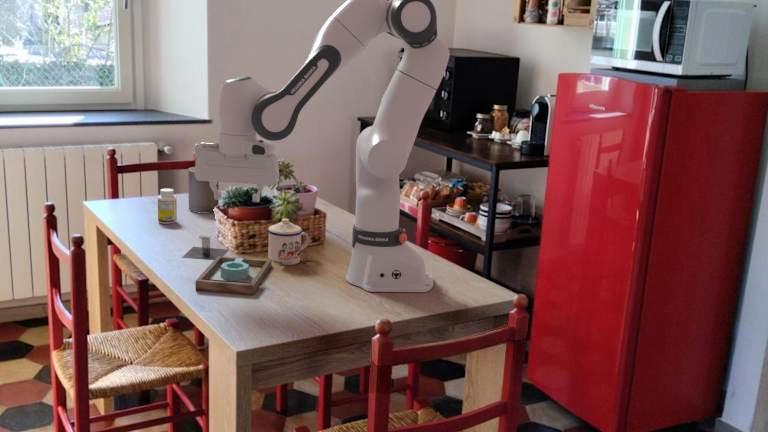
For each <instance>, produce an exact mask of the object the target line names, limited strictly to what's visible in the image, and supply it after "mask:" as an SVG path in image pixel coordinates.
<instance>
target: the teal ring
mask: <svg viewBox="0 0 768 432" xmlns="http://www.w3.org/2000/svg"><path fill="white" fill-rule="evenodd" d="M243 258H244V257H237V258H236V259H235V261H231V262H226V263H221V264H220V278H223V279H225V281H235V282H237V281H240V280H246V279H248V278H249V275H250V265H248V264H246V263H244V262H243Z"/></svg>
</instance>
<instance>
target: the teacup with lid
mask: <svg viewBox="0 0 768 432" xmlns="http://www.w3.org/2000/svg"><path fill="white" fill-rule="evenodd" d="M267 232H268V252H267V255H268V256H267V257H268V260H271V262H272V261H273V262H275V263H276V262H277V263H281V264H280V266H293V265H294V266H295V265H296V264H298V263H300V261H301V252H302V250H304V249H305V248H306V247H307V246H308V244H309V241H310V238H309V235H308V233H307V232H304V231H303V229H302V228H301V227H300V226H299V225H296V224H294V223H292V222H290V219H289V218H282V219H281V221H279V222H277V223H276V224H272V225H270V226H269V227H268V229H267ZM302 236H304V243H303V244H302Z"/></svg>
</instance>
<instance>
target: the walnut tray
mask: <svg viewBox="0 0 768 432" xmlns="http://www.w3.org/2000/svg"><path fill="white" fill-rule="evenodd" d="M236 258H238V257H235V256H225V255H224V256H218V257H217V258H216V259H215V260H212V262H211V264H209V266H208V267H207V268H206V269H204V271H203V272H202V273H201V274H200V275H199V276H198V278H197V279H196V280H195V291H197V292H205V293H206V292H207V293H209V292H210V293H218V294H219V293H221V294H232V295H233V294H234V295H247V296H255V294H256V292H257V291H258V290H259V288H260V287H261V285H262V283H261V282H262V280H263V279H264V278H265V276H266V274H267V273H268V271H269V270H270V269H271V267H272V260H270V259H260V258H248V257H247V258H245V257H242V258H243V262H244V263H246V264H248V265H249V266H253V267H261V269H260V270H259V271H258V273H257V274H256V276H255V277H254V279H252V281H251V282H247V281H236V280H222V279H221V280H220V279H211V278H210V277H211V275H212V274H213V273H214V272H215V271H216V270H217V268H218V267H220V266H221V265H222V264H223V263H226V262H231V261H235V259H236ZM235 281H236V282H235Z"/></svg>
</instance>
